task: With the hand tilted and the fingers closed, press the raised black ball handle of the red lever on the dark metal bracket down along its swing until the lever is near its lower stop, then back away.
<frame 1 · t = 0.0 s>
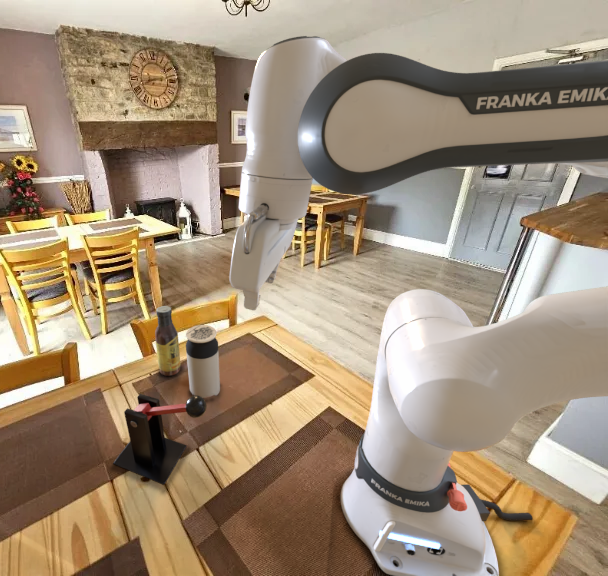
hand: (260, 293, 46), 39 cm above the table, tool pointing down, fingers open, 8 cm apart
travel mug: (205, 390, 82), on the table
sauce bottle: (170, 370, 90), on the table
bracket: (151, 458, 65), on the table
lever: (168, 409, 56), point 16 cm above the table, hinge at 26.0°
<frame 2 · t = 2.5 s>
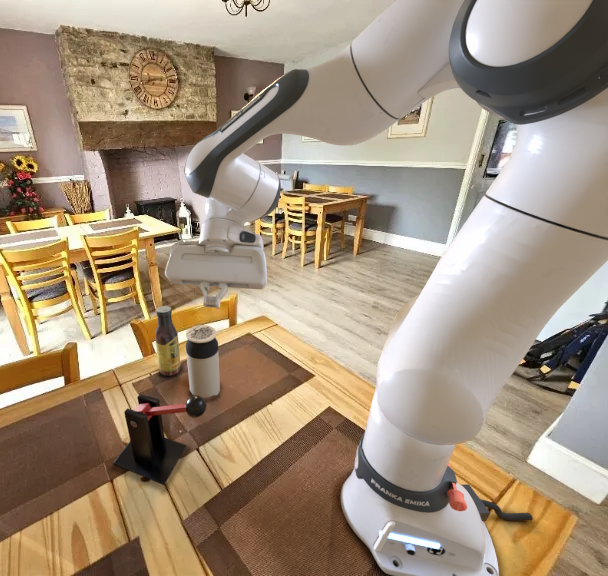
hand: (211, 306, 59), 31 cm above the table, tool tilted 45°, fingers closed
nothing on the table moved.
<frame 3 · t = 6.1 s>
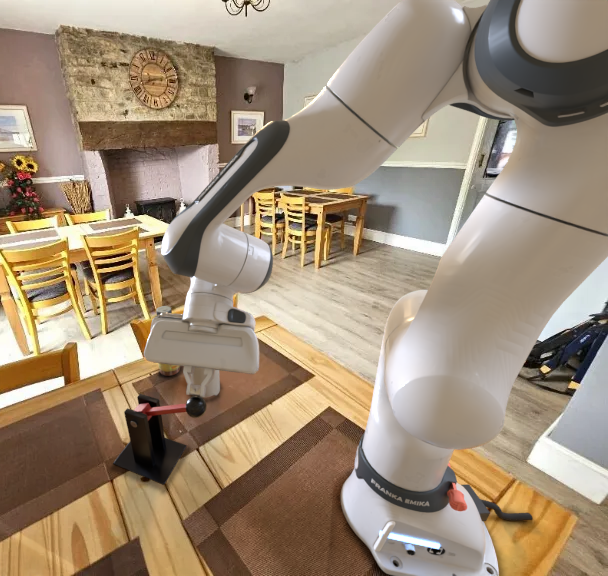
hand: (195, 395, 52), 21 cm above the table, tool tilted 45°, fingers closed, pressing on lever
lever: (168, 409, 56), point 16 cm above the table, hinge at 26.0°, touching gripper
everything else where it was.
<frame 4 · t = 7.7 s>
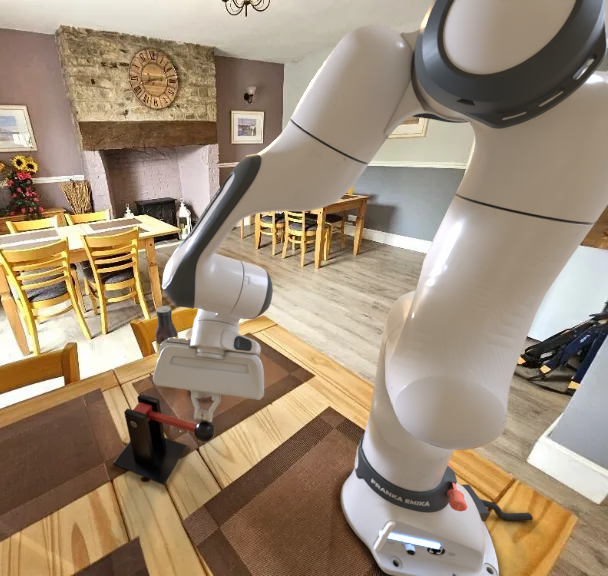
hand: (202, 420, 54), 16 cm above the table, tool tilted 45°, fingers closed
lever: (173, 421, 57), point 13 cm above the table, hinge at 1.7°, touching gripper
everything else where it was.
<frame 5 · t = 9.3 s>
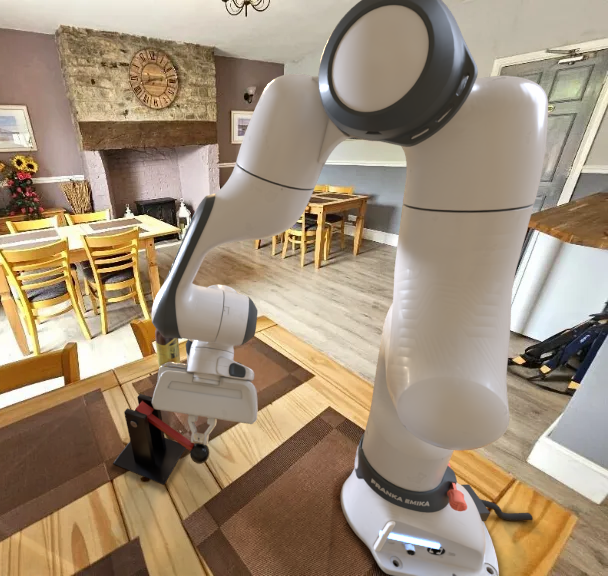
hand: (199, 443, 57), 10 cm above the table, tool tilted 45°, fingers closed, pressing on lever
lever: (171, 432, 58), point 10 cm above the table, hinge at -26.4°, touching gripper
everything else where it was.
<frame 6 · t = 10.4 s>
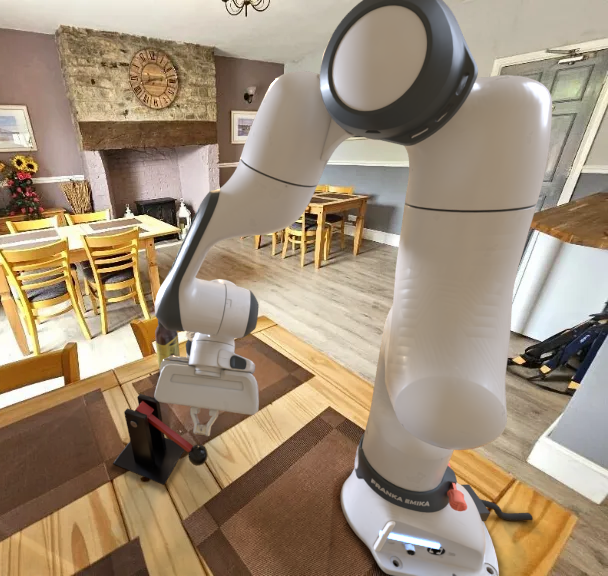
hand: (201, 434, 58), 10 cm above the table, tool tilted 45°, fingers closed
lever: (171, 434, 59), point 10 cm above the table, hinge at -30.2°
everything else where it was.
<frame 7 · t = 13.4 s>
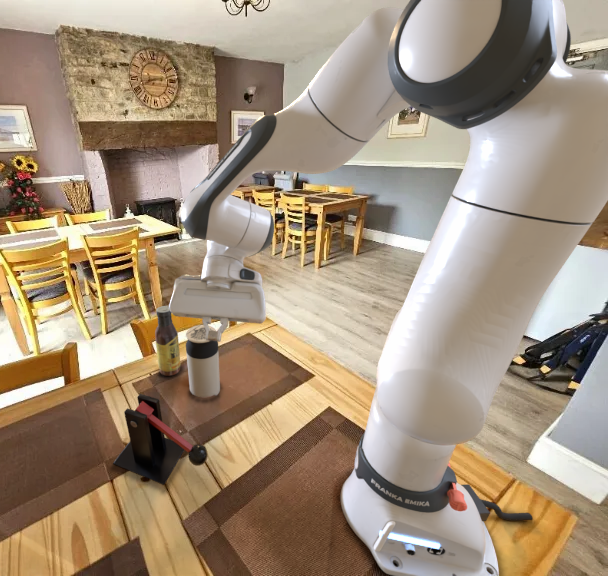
hand: (212, 340, 62), 23 cm above the table, tool tilted 45°, fingers closed
nothing on the table moved.
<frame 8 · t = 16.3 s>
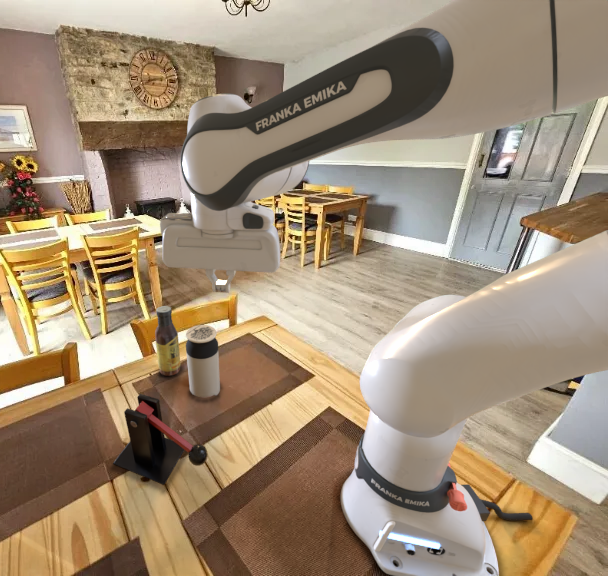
hand: (221, 291, 56), 35 cm above the table, tool pointing down, fingers closed
nothing on the table moved.
at the end: lever at -30° (first picture: +26°); travel mug moved 0.2 cm from its start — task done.
